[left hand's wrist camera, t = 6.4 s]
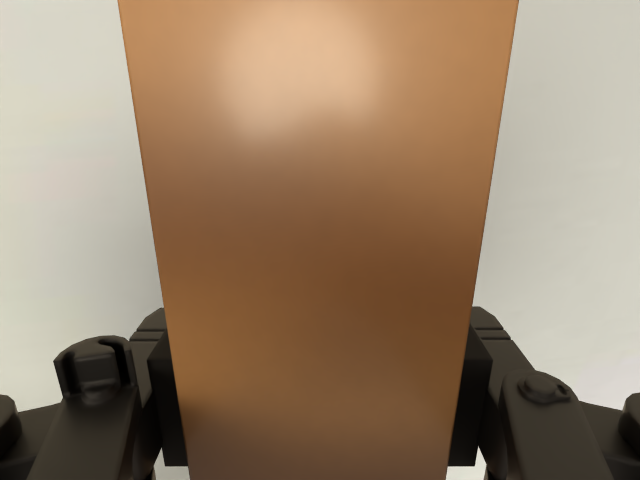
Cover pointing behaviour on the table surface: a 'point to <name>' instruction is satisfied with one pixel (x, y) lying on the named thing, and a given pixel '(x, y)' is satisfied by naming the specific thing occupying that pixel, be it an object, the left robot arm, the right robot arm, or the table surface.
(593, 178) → the table surface
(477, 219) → the bar
